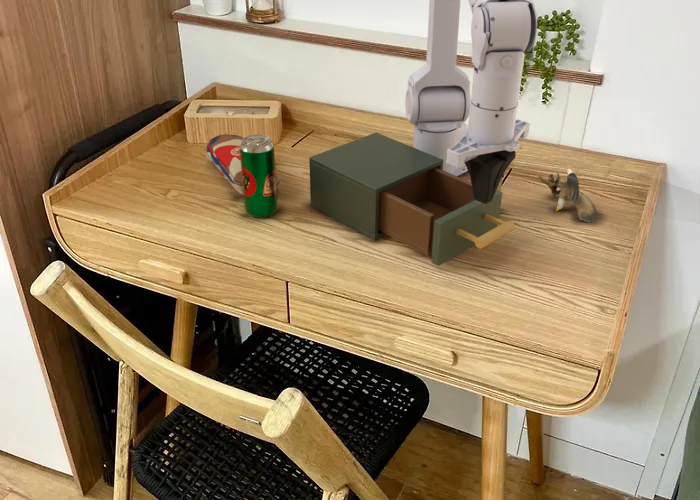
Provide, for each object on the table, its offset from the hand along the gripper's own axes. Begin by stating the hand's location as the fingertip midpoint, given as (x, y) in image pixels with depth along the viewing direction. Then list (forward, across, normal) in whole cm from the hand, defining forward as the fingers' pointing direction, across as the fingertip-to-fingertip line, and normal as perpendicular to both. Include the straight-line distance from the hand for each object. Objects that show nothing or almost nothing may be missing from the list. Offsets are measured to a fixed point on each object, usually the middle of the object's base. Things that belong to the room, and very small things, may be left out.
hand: (482, 200), depth 95 cm
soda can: (+9, -14, +31) cm, 35 cm away
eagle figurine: (+9, +22, -1) cm, 24 cm away
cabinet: (+9, 0, +20) cm, 22 cm away
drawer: (+8, 0, +6) cm, 10 cm away
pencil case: (+9, -9, +43) cm, 45 cm away
